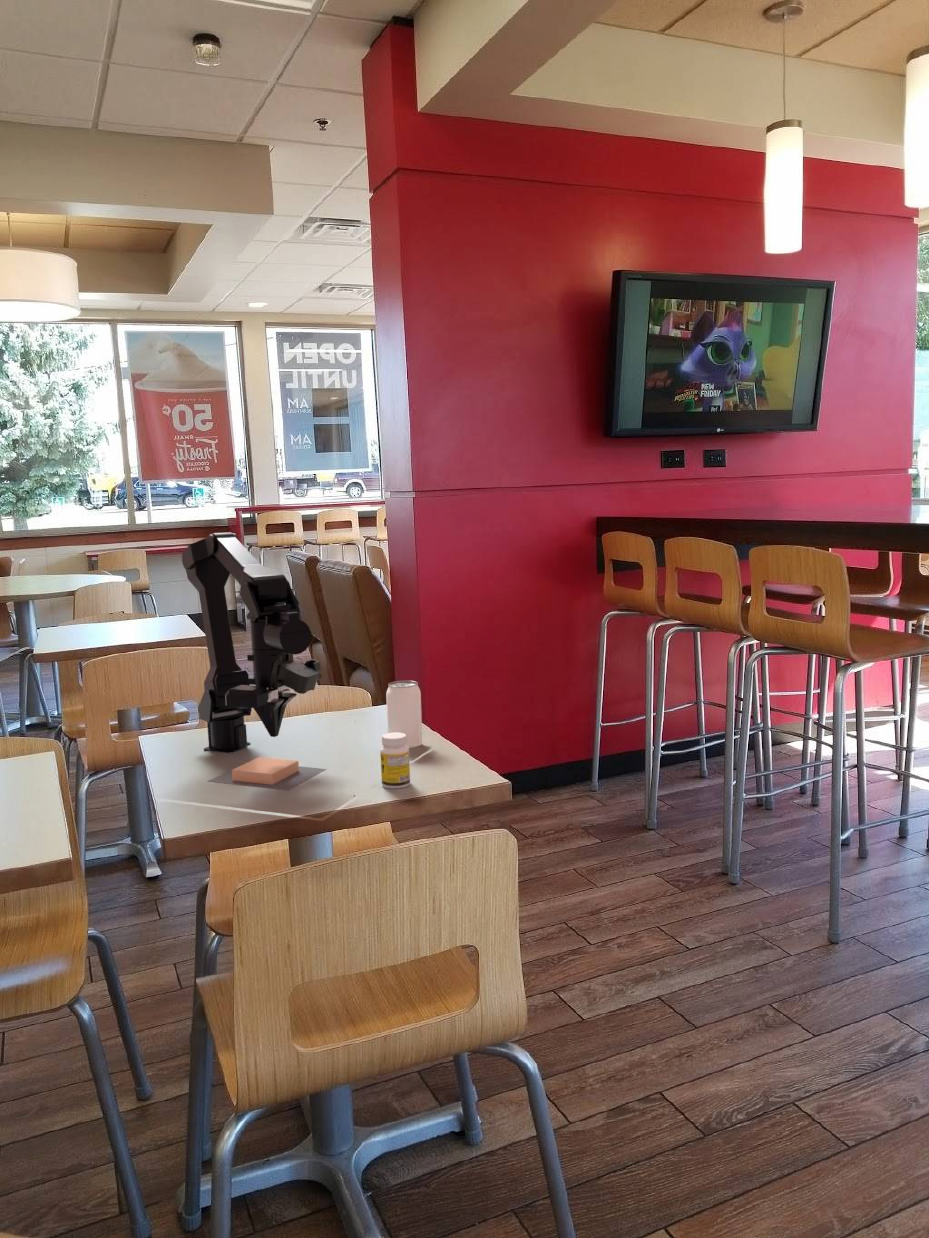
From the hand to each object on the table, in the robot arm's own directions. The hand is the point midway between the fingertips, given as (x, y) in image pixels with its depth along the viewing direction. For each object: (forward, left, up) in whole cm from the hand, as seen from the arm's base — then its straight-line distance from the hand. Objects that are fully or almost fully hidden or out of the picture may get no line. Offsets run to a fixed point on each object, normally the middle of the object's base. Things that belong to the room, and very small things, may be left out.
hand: (274, 736), depth 162 cm
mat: (0, -2, -6) cm, 7 cm away
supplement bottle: (+23, +1, -7) cm, 24 cm away
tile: (0, +1, -5) cm, 5 cm away
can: (+14, +23, -7) cm, 27 cm away
